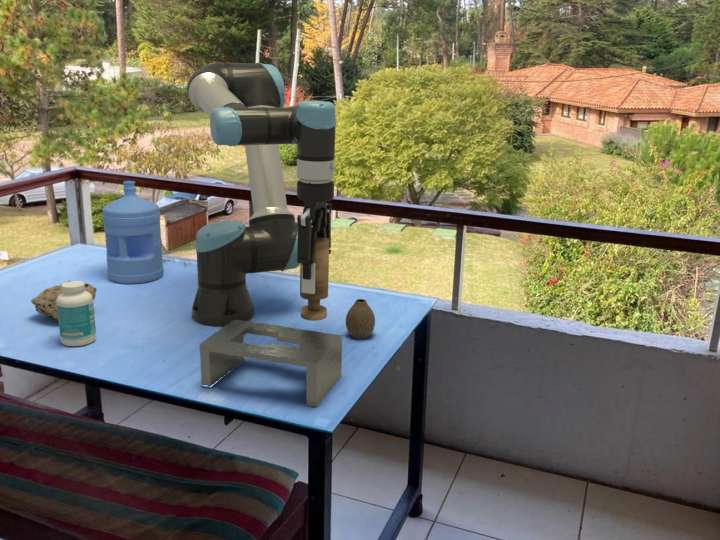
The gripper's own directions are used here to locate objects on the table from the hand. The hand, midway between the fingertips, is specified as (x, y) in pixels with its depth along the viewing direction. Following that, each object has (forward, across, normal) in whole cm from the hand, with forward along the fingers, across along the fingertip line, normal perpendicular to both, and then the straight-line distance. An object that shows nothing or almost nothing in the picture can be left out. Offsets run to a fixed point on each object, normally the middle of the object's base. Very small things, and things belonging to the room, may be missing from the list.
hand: (314, 287), depth 142 cm
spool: (+6, 0, 0) cm, 6 cm away
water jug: (+17, +32, +68) cm, 78 cm away
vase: (+16, +13, -7) cm, 22 cm away
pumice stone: (+16, -1, +64) cm, 66 cm away
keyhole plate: (+15, -16, +2) cm, 22 cm away
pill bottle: (+16, -13, +51) cm, 55 cm away
